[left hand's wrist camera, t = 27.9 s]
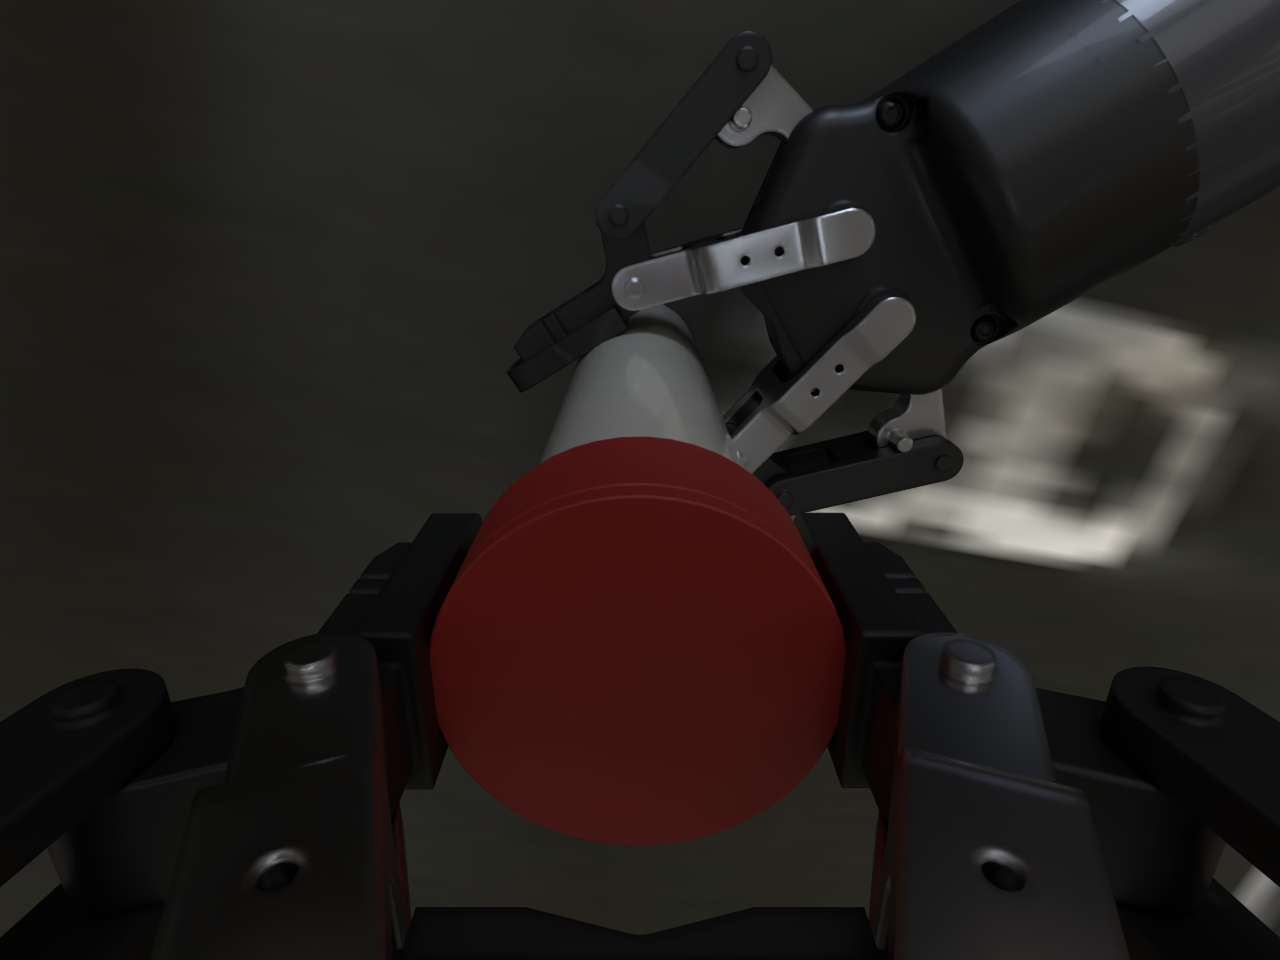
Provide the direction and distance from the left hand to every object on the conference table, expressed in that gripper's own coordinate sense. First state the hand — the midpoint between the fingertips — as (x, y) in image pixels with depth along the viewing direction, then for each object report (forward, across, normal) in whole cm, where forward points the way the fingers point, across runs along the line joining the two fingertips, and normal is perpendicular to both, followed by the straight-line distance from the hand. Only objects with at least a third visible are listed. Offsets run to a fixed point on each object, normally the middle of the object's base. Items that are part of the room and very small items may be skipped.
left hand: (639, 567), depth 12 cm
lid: (-3, 0, 0) cm, 3 cm away
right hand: (+11, -2, -1) cm, 11 cm away
